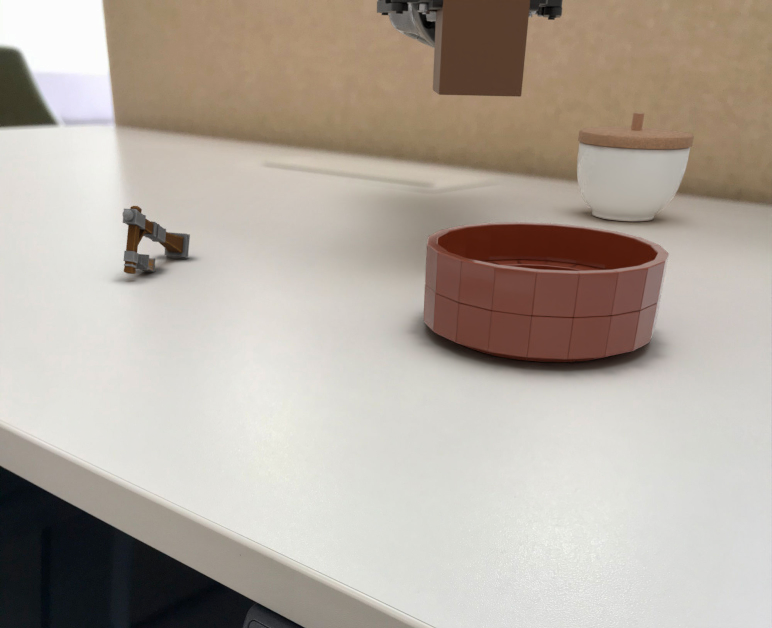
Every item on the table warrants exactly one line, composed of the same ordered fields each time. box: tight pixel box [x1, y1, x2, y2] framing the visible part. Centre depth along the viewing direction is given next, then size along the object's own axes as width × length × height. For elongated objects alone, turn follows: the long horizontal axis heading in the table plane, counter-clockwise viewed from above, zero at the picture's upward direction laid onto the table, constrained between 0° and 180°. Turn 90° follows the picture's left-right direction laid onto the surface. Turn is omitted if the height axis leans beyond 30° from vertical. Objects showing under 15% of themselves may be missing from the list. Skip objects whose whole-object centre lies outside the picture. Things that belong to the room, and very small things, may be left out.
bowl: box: [422, 221, 670, 363], centre depth 47 cm, size 13×13×5 cm
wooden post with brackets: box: [122, 205, 191, 275], centre depth 59 cm, size 2×8×4 cm, turn 167°
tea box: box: [432, 0, 530, 97], centre depth 54 cm, size 6×6×10 cm
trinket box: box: [576, 112, 694, 222], centre depth 80 cm, size 11×11×9 cm
